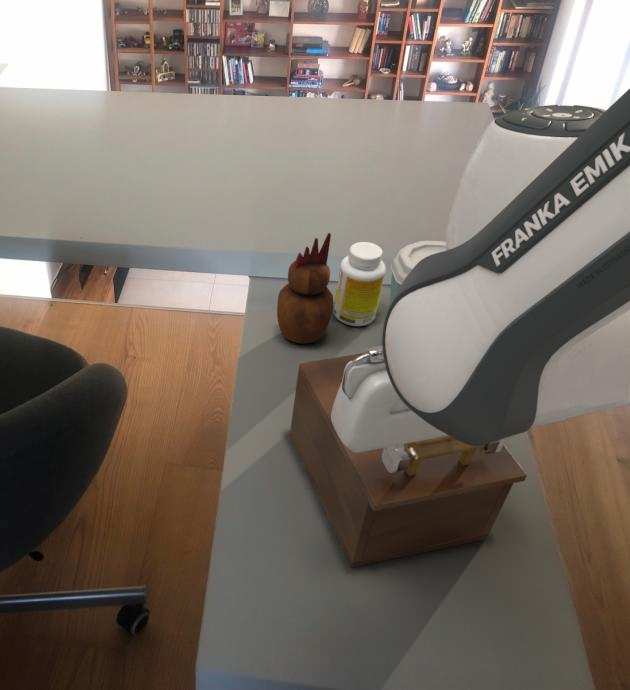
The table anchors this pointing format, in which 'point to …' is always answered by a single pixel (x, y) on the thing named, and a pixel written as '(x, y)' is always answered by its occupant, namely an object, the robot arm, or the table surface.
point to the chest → (388, 524)
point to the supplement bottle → (359, 284)
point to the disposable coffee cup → (411, 261)
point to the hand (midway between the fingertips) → (440, 456)
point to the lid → (411, 454)
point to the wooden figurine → (306, 296)
